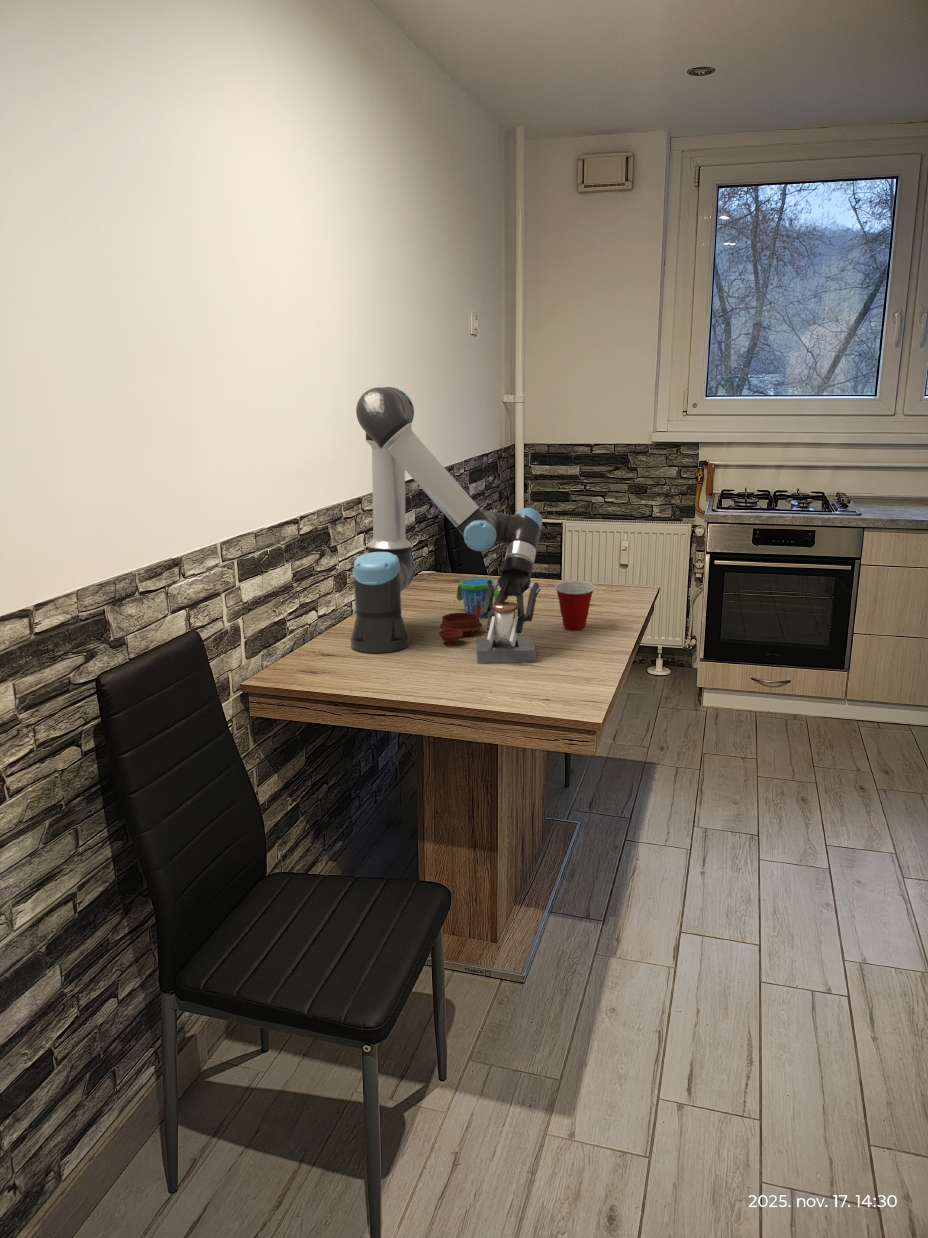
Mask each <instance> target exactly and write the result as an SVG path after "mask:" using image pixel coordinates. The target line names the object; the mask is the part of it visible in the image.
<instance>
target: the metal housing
mask: <svg viewBox="0 0 928 1238" xmlns="http://www.w3.org/2000/svg"><path fill="white" fill-rule="evenodd" d="M487 637H488V636H487ZM487 637H485V636H484V637H476V638H475V639H476V663H477V664H502V663H503V664H504V663H505V664H506V663H508V664H509V663H518V664H519V663H536V647H535V643H534V640H533V636H517V638H516V642H515V647H504V648H495V636H494V640H493V644H492V645H489V643H488V641H487Z"/></svg>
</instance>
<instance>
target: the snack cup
mask: <svg viewBox="0 0 928 1238" xmlns="http://www.w3.org/2000/svg"><path fill="white" fill-rule="evenodd" d="M488 580H491V581H492V582H493V581H496V580H495V579H493V578H489V577H471V578H465V579H463V580H460V581H459V583H458V586H457V588H456V599H457V601H463V607H464V613H472V614H476V615H478V616H479V617H480V618H485V617H484V615H483V613H482V610H483V606H484V602H485V598H486V594H487V590H488V584H487V581H488ZM499 592H500V590H499V589H498V588H497V589H496V590H495V594H494V598H493V602H492V606H493V603H495V601H496V599H497V597H498V595H499ZM492 606H491V608H492Z"/></svg>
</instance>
